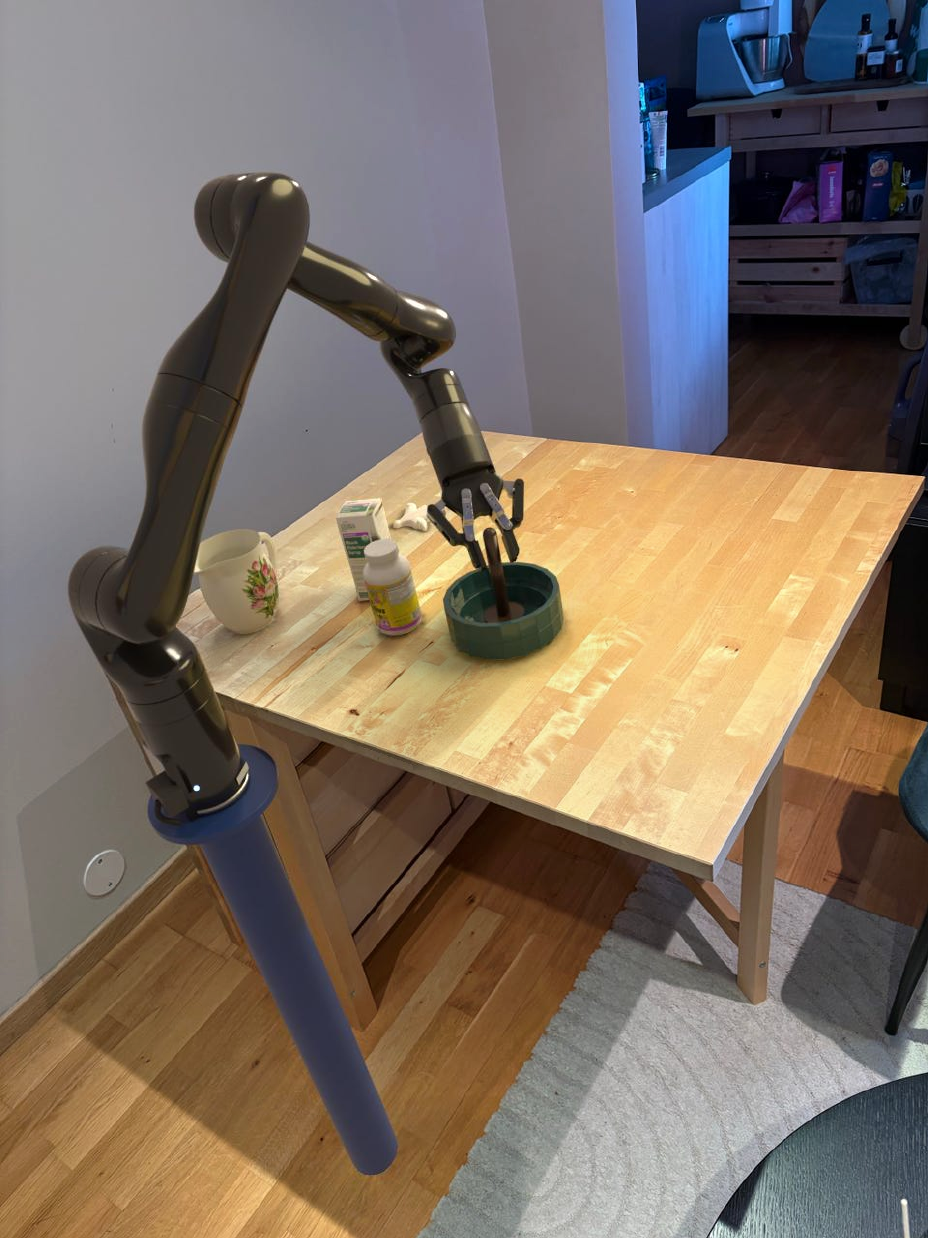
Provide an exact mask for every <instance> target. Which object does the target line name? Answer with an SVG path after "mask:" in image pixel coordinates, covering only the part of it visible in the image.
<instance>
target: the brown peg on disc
mask: <svg viewBox="0 0 928 1238" xmlns="http://www.w3.org/2000/svg"><path fill="white" fill-rule="evenodd" d="M482 539H483V544H484V549H485V555H486V561H487V565H488V566H489V572H490V577H491V582H492V588H493V593H494V599H495V605H493V606H491V607H489V608H488V609H487V610H486V611H485V613H484V621H485V623H500V622H505V621H510V620H515V619H518V618H521V617H523V616H525V611H524V608H523V607H522V606H521V605H520V604H518V603H515V602H509V601H508V595H507V590H506V584H505V578H504V572H503V567H502V563H503V562H502V556H501V550H500V544H499V539H498V532H497V531H496V529H495V528H493V527H490V526H489V527H486V528H484V530H483V532H482Z"/></svg>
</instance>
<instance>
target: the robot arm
mask: <svg viewBox="0 0 928 1238" xmlns="http://www.w3.org/2000/svg"><path fill="white" fill-rule="evenodd" d="M193 220H194V227H195V229H196V232H197V235H198V237H199V239H200V241H201V242H202V244H203V245H204V247H205V248H206V249H207V251H208V252H209V253H211V254H212V255H213V256H214V257H215V258H217V259H218V260H219V261H222V262H224V263H227V265H226V267H225V270H224V273H223V276H222V278H221V280H220V282H219V283H218V286H217V288H216V290H215V292H214V293H213V295H212V296H211V298H210V300H209V301H208V302H207V303H206V304H205V305H204V307H203V308H202V309H201V311H200V312H199V313H198V314H197V315H196V316H195V317H194V319H193V320H191V322H190V323H189V324H188V325H187V326H186V327H185V329H184V330H183V331H182V332H181V333H180V334H179V336H178V337H177V338H176V339H175V340H174V342H173V344H172V345H171V346H170V347H169V349H168V350H167V351H166V353H165V355H164V357H163V358H162V360H161V362H160V364H159V367H158V370H157V371H156V376H155V378H154V381H153V383H152V388H151V389H150V393H149V396H148V399H147V402H146V404H145V407H144V412H143V415H142V421H141V423H142V424H141V448H142V459H143V465H144V466H143V467H144V477H145V478H144V479H145V496H144V502H143V508H142V511H141V516H140V518H139V521H138V523H137V528H136V530H135V534H134V536H133V539H132V542H131V544H130V547H129V548H128V547H124V546H121V545H115V544H113V545H112V544H105V545H99V546H96V547H94V548H91V549H89V550H88V551H85V552H84V553H83V554H82V555H81V556H79V558H78V559H77V560H76V561H75V563H74V564H73V565H72V568H71V570H70V572H69V575H68V581H67V589H66V590H67V598H68V604H69V608H70V610H71V612H72V615H73V618H74V620H75V621H76V623H77V626H78V627H79V629H80V631H81V633H82V636H83V637H84V639H85V640H86V642H87V644H88V646H89V648H90V650H91V652H92V653H93V655H94V657H95V659H96V660H97V662H98V664H99V666H100V668H101V669H102V670H103V672H104V673H105V674H106V675H107V677H109V679H110V680H112V682H113V683H114V684H115V685H116V686H117V688H118V689H119V691H120V693H121V695H122V697H123V699H124V701H125V703H126V705H127V707H128V709H129V711H130V714H131V715H132V717H133V719H134V721H135V724H136V726H137V727H138V730H139V732H140V734H141V736H142V738H143V739H142V740H141V746H142V749H143V750H144V752H145V754H146V756H147V758H148V760H149V762H150V764H151V767H152V768H153V771H154V772H155V776H153V777H152V778H150V779H148V780H147V781H145V785H146V787H147V789H148V791H149V793H150V796H151V795H152V797H153V799H154V801H155V816H156V818H157V819H158V820H159V821H160V822H162V823H165V824H172V825H178V826H179V825H180V823H181V820H179V819H174V818H173V817H174V816H176V815H177V814H179V813H180V812H181V813H182V814H183V815H184V816H185V817H186V818H187V819H188V820H189V821H190V822H192V821H194V820H196V819H197V818H199V817H204V816H209V815H213V814H216V813H218V812H221V811H223V810H225V809H227V808H229V807H230V806H232V805H233V804H234V803H236V802H237V801H238V800H239V799H240V798H241V797H242V796H243V795H244V793H245V792H246V790H247V789H248V786H249V784H250V773H249V771H248V769H249V767H248V765H247V762H246V763H245V762H244V760H243V758H242V756H241V754H240V751H239V749H238V746H237V744H238V743H237V742H236V739H235V736H234V734H233V732H232V729H231V727H230V724H229V722H228V720H227V718H226V715H225V712H224V710H223V708H222V705H221V703H220V700H219V698H218V695H217V693H216V690H215V688H214V685H213V683H212V681H211V678H210V676H209V673H208V671H207V668H206V666H205V663H204V662H203V659H202V656H201V653H200V652H199V650H198V648H197V646H196V645H195V643H194V641H192V640H191V639H190V638H189V637H188V636H187V635H185V634H184V633H183V632H182V631H181V630H180V629H179V628H178V627H177V625H178V623H179V621H180V619H181V618H182V615H183V613H184V611H185V609H186V606H187V603H188V599H189V596H190V591H191V587H192V583H193V578H194V575H195V574H194V569H195V565H196V560H197V556H198V551H199V547H200V543H201V542H202V537H203V533H204V529H205V526H206V521H207V518H208V515H209V511H210V508H211V506H212V502H213V498H214V496H215V492H216V488H217V486H218V482H219V478H220V475H221V472H222V469H223V466H224V462H225V460H226V457H227V455H228V452H229V449H230V447H231V444H232V442H233V438H234V436H235V434H236V430H237V426H238V425H239V421H240V418H241V415H242V412H243V409H244V406H245V402H246V398H247V395H248V392H249V388H250V385H251V382H252V379H253V376H254V373H255V370H256V368H257V365H258V363H259V360H260V357H261V354H262V351H263V348H264V346H265V344H266V340H267V337H268V334H269V332H270V330H271V326H272V325H273V322H274V319H275V317H276V314H277V312H278V309H279V308H280V305H281V303H282V301H283V299H284V296H285V295H286V292H287V290H289V291H290V292H292V293H294V294H296V295H299V296H300V297H302V298H304V299H306V300H307V301H309V302H311V303H312V304H314V305H316V306H318V307H320V308H321V309H323V310H324V311H327V312H328V313H329V314H331V315H333V316H334V317H335V318H337V319H339V320H340V321H342V322H343V323H345V324H346V325H348V326H349V327H350V328H352V329H354V331H357V332H358V333H360V334H361V335H363V336H364V337H366V338H367V339H370V340H371V341H375V342H378V343H379V344H378V345H379V351H380V354H381V355H380V356H381V357H382V359H383V360H384V362H385V364H386V365H387V366H388V368H389V369H390V370H391V371H392V373H393V374H394V375H395V376H396V378H397V379H398V381H399V382H400V384H401V385H402V387H403V388H404V390H405V391H406V394H407V395H408V397H409V398H410V400H411V402H412V405H413V408H414V411H415V413H416V417H417V420H418V423H419V425H420V428H421V432H422V438H423V441H424V444H425V447H426V453H427V455H428V456H429V458H430V461H431V465H432V467H433V469H434V472H435V475H436V479H437V481H438V484H439V486H440V490H441V496H440V500H438V501H437V502H435V503H430V504H429V505H427V506H428V507H427V517H428V519H429V520H430V523H431V524H432V525H434V527H435V528H436V529H437V530H438V532H439V533H440V534H441V535H442V536H443V538H444V539H445V540H446V541H447V543H448V544H449V545H450V546H451V547H458V546H463V547H464V548H465V549H466V551H467V553H468V556H469V559H470V562H471V564H472V567H473V568H474V570H476V569H478V568H479V570H480V572H483V571H486V569H487V565H488V564H487V562H486V559H485V557H484V554H483V550H482V548H481V545H480V543H479V540H476V532H475V526H474V524H475V522H474V521H475V520H477V519H478V518H480V517H489V519H490V520H491V522H492V523H493V524H494V525H495V526H496V527H497V529H498V531H499V532H500V534H501V537H500V539H501V541H502V544H503V547H504V550H505V552H506V555H507V558H508V560H509V561H508V562H511V563H512V562H517V560H518V557H519V555H520V551H521V549H520V546H519V543H518V540H517V537H516V534H515V533H514V531H515V530H516V529H518V528H520V526H521V525H522V522H523V520H524V516H525V515H524V514H525V513H524V510H525V509H524V507H525V481H524V479H522V478H517V479H515V480H504V479H503V478H502V476H500V475H499V474H498V473H497V471H496V469H495V468H496V467H495V465H494V463H493V460H492V458H491V455H490V452H489V450H488V449H489V448H488V446H487V444H486V442H485V438H484V436H483V433H482V430H481V428H480V424H479V422H478V420H477V419H476V416H475V414H474V413H473V411H472V409H471V406H470V403H469V401H468V398H467V395H466V393H465V390H464V387H463V385H462V383H461V380H460V378H459V376H458V374H457V373H456V371H454V370H453V369H451V368H447V367H446V368H445V367H440V368H433V369H430V370H427V371H424V372H423V371H422V368H424V367H425V366H426V365H429V364H430V363H431V362H433V361H434V360H436V359H437V358H439V357H441V356H442V355H444V354H445V353H447V352H448V351H450V350H451V348H452V347H453V346H454V344H455V342H456V339H457V330H456V329H457V328H456V325H455V322H454V320H453V319H452V317H451V315H450V314H449V313H448V311H447V310H446V309H444V308H443V307H442V306H441V305H440V304H438V303H437V302H435V301H433V300H432V299H428V298H426V297H423V296H420V295H416V294H413V293H410V292H406V291H404V290H399V289H396V288H395V287H394V286H393V285H391V284H390V283H388V282H387V281H386V280H384V279H383V278H382V277H380V276H379V275H378V274H377V273H375V272H374V271H372V270H371V269H369V268H367V267H366V266H364V265H362V264H360V263H358V262H356V261H354V260H353V259H350V258H347V257H346V256H344V255H340V254H338V253H335V252H333V251H330V250H328V249H326V248H323V247H322V246H319V245H317V244H315V243H312V242H311V241H309V239H308V238H309V233H310V226H311V214H310V205H309V202H308V199H307V195H306V193H305V191H304V189H303V187H302V186H301V185H300V183H298V181H297V180H296V179H294V178H293V177H291V176H289V175H287V174H285V173H280V172H274V171H273V172H272V171H258V172H247V173H245V172H244V173H229V174H225V175H221V176H218V177H214V178H212V179H211V180H209V181H207V182H205V184H204V185H203V186H202V187H201V188H200V190H199V191H198V193H197V195H196V198H195V201H194V204H193ZM502 491H505V492H506V495H507V498H509V499H511V517H510V518H509V517H508V515H507V514H506V511H505V510H504V507H503V505H502V504H501V502H500V499H501V495H502ZM445 508H447V509H448V510H449V511H451V512H453V513H454V514H456V515H457V516H458V517H460V523H461V530H462V532H459V531H458V530H457V529H456V528H455V526H454V525H452V523H451V521H449V519H447V518H446V517H447V511H446V509H445ZM161 808H162V809H163V810H164V811H165V812H166V813H167V814H168V815H169V816H170V817H171V818H167V817H164V816H163V815H162V813H161Z"/></svg>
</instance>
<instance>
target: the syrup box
mask: <svg viewBox="0 0 928 1238" xmlns="http://www.w3.org/2000/svg"><path fill="white" fill-rule="evenodd" d="M335 520H336V524H337V528H338V531H339V536H340V539H341V542H342V545H343V549H344V552H345V556H346V559H347V562H348V565H349V569H350V573H351V577H352V580H353V584H354V587H355V588H354V589H355V592H356V596H357V600H358V601H359V602H364V601H370V599H369V596H368V592H367V588H366V584H365V581H364V577H363V569H364V567H365V565H366V564H367V563H368V562H367V560H366V559H365V554H364V549H365V547H366V546H367V545H369V544H370V543H372V542H374V541H377V540H381V539H392V536H391V534H390V528H389V524H388V521H387V517H386V512H385V509H384V504H383V500H382V497H377V498H370V499H369V498H368V499H358V500H346V501H345V502H344V503H343V504H342V506H341V507H340V509H339V511H338V512H337V515H336V518H335Z"/></svg>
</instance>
